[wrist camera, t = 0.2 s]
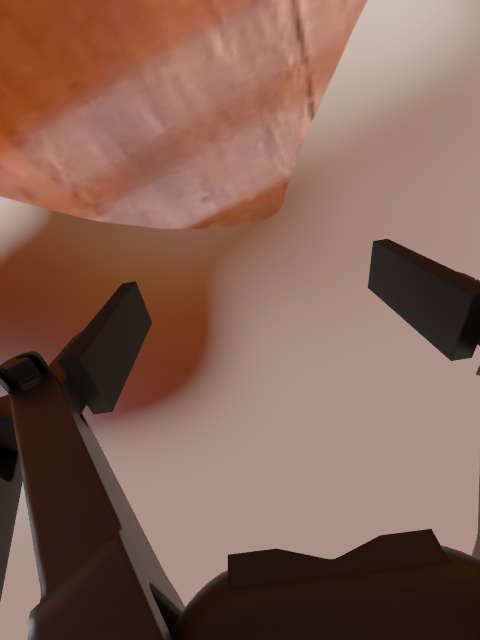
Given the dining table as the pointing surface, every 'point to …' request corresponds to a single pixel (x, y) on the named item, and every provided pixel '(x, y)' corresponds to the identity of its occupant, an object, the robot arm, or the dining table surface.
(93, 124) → the dining table surface
